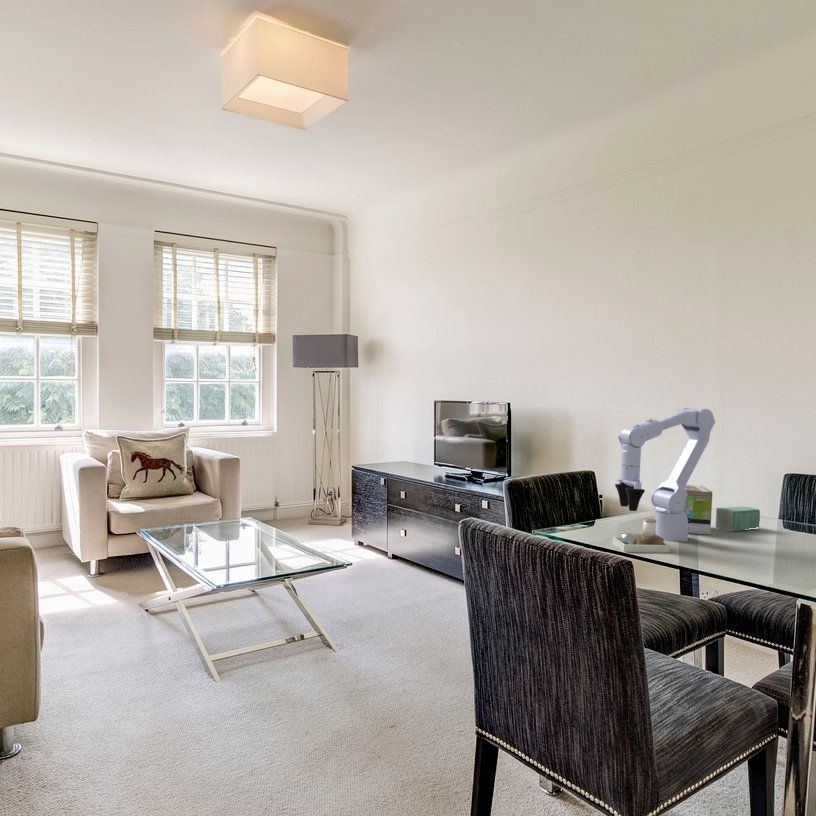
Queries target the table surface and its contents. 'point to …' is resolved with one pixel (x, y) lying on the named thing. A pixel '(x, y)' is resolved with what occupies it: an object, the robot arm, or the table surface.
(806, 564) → the table surface
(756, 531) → the table surface
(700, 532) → the tea box
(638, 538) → the block
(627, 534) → the tin
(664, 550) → the white tray
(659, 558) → the table surface
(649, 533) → the jar
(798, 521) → the table surface
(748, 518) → the box
